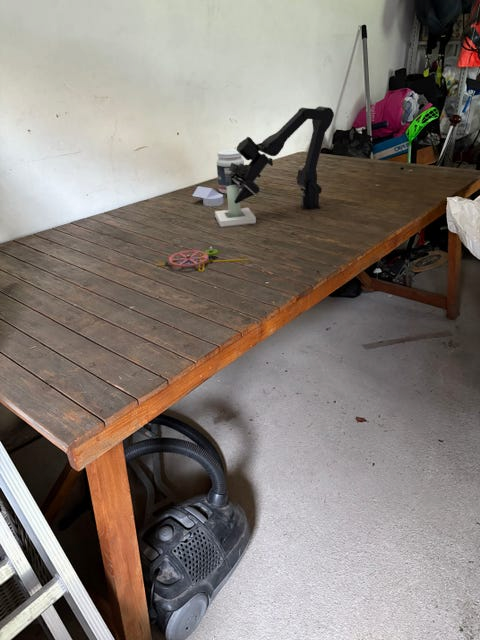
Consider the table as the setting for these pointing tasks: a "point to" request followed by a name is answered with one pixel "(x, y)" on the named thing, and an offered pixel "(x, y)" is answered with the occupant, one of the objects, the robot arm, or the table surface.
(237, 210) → the green post
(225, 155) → the supplement tub
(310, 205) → the robot arm
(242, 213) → the socket block
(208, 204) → the wedge on round base
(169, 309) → the table surface
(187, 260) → the mechanical gear assembly
